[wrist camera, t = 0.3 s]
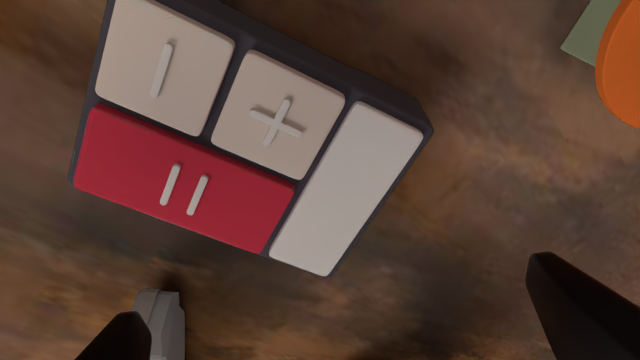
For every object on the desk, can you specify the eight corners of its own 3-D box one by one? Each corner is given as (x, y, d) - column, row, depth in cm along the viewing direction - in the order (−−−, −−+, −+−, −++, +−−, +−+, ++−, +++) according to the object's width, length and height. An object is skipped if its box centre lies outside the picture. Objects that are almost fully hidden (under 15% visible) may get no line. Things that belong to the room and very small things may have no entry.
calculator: (104, -33, 15) (443, 135, 19) (145, -41, 19) (422, 101, 23) (56, 193, 20) (330, 291, 24) (95, 152, 24) (328, 243, 28)
